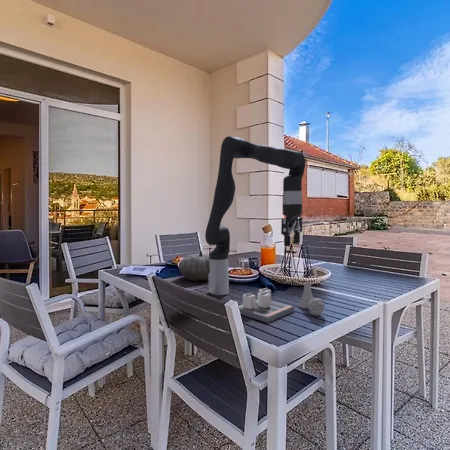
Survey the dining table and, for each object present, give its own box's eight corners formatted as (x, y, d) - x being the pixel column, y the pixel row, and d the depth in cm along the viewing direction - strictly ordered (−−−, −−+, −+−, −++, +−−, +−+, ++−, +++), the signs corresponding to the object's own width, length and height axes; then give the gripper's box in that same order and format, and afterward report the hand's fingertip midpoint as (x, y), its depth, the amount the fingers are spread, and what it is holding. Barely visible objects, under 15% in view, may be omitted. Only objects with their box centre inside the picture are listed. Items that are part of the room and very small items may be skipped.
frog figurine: (312, 319, 120) (312, 301, 120) (304, 313, 127) (304, 295, 127) (327, 318, 122) (327, 299, 121) (319, 312, 128) (319, 294, 128)
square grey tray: (234, 312, 130) (234, 307, 130) (261, 302, 142) (261, 298, 142) (267, 322, 118) (267, 317, 118) (294, 311, 130) (294, 306, 130)
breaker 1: (242, 307, 129) (242, 293, 129) (248, 305, 131) (247, 291, 131) (250, 309, 126) (250, 295, 126) (255, 307, 128) (255, 293, 128)
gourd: (186, 282, 171) (186, 249, 174) (171, 280, 193) (172, 251, 196) (228, 281, 182) (227, 250, 185) (209, 279, 204) (209, 252, 207)
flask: (319, 306, 135) (319, 283, 135) (311, 311, 130) (311, 286, 129) (303, 303, 140) (303, 280, 139) (295, 307, 135) (295, 283, 134)
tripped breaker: (257, 306, 130) (257, 292, 130) (262, 304, 132) (262, 290, 132) (265, 308, 127) (265, 294, 127) (270, 306, 129) (270, 292, 129)
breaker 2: (258, 301, 136) (258, 288, 136) (263, 299, 138) (263, 287, 138) (266, 303, 133) (266, 290, 133) (271, 301, 135) (270, 288, 135)
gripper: (291, 202, 133) (291, 241, 134) (275, 203, 122) (275, 245, 123) (308, 202, 129) (308, 243, 130) (293, 203, 117) (293, 247, 118)
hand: (292, 244), depth 126 cm, fingers open, 8 cm apart
